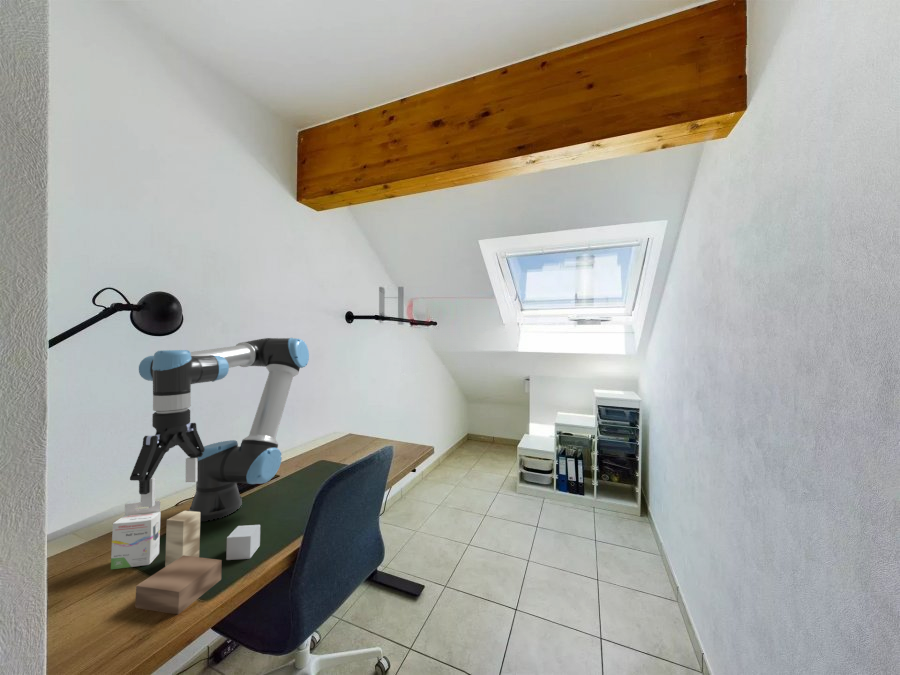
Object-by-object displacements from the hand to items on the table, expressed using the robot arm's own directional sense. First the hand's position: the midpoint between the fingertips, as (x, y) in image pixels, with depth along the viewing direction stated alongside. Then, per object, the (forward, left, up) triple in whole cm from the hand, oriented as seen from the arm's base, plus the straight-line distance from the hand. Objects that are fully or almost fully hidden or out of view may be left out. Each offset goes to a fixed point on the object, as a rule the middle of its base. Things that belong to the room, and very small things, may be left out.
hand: (171, 493), depth 87 cm
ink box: (-2, -12, -20) cm, 23 cm away
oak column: (-4, 0, -20) cm, 20 cm away
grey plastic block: (-10, +13, -20) cm, 25 cm away
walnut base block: (+6, +10, -20) cm, 23 cm away
